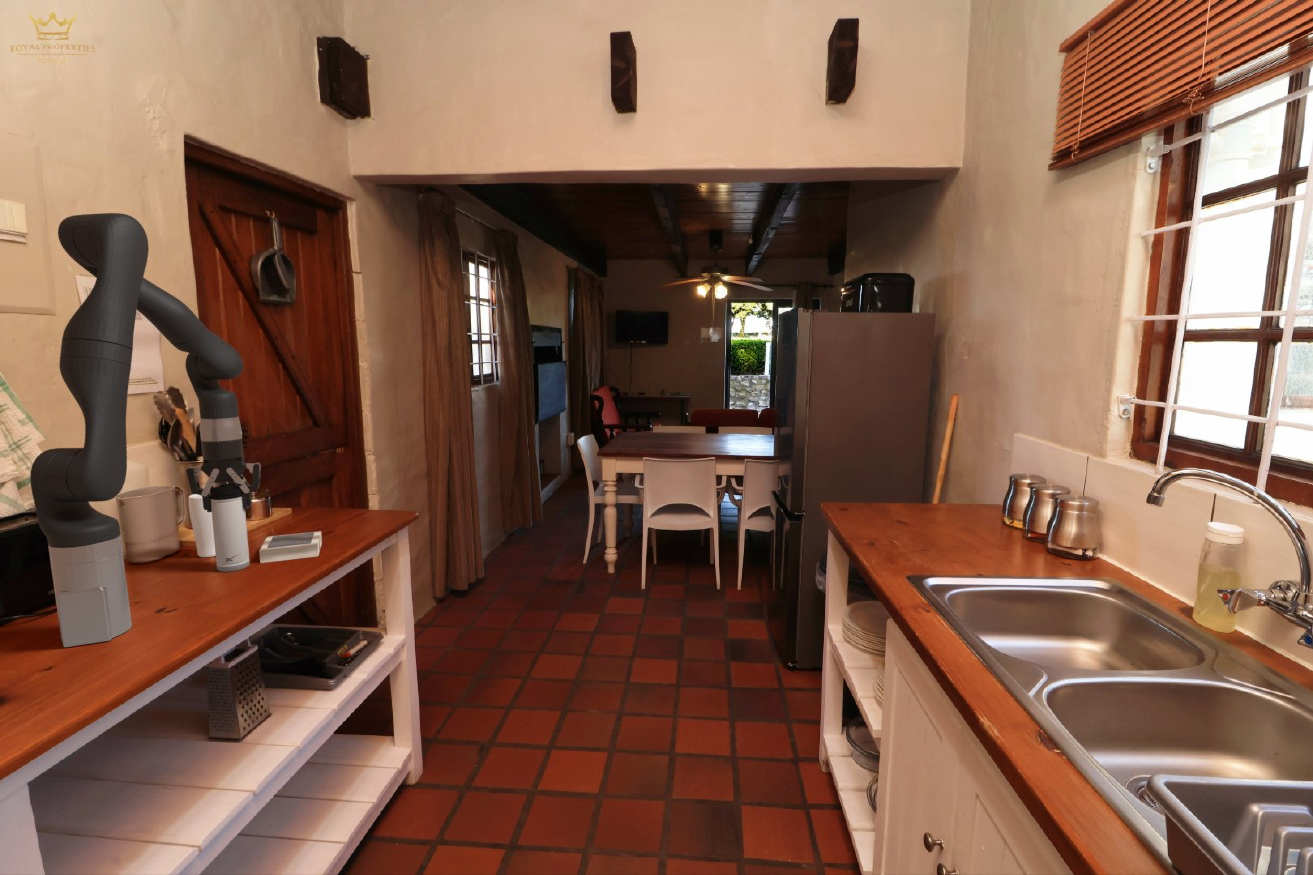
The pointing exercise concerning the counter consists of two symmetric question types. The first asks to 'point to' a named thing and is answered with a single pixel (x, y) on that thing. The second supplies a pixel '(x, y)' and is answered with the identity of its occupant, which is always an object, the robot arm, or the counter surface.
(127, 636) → the counter surface
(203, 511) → the white tall cylinder
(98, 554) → the robot arm
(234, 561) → the travel mug
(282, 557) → the base
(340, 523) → the counter surface
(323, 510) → the counter surface
